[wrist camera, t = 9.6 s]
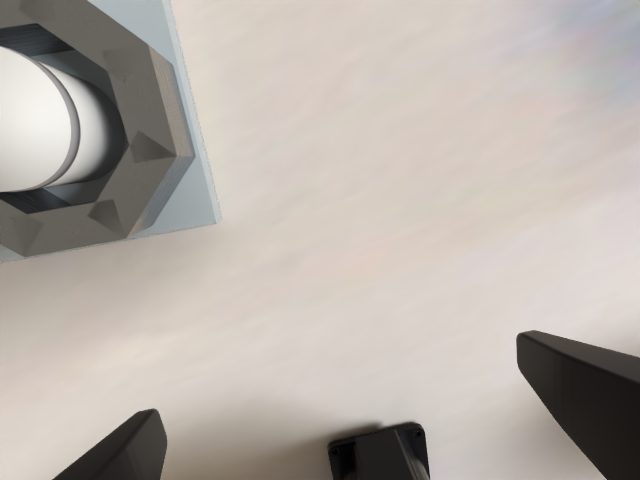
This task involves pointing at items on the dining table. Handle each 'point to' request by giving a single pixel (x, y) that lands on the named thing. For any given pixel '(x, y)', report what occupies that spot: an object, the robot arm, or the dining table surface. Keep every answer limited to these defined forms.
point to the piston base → (199, 174)
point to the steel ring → (138, 119)
